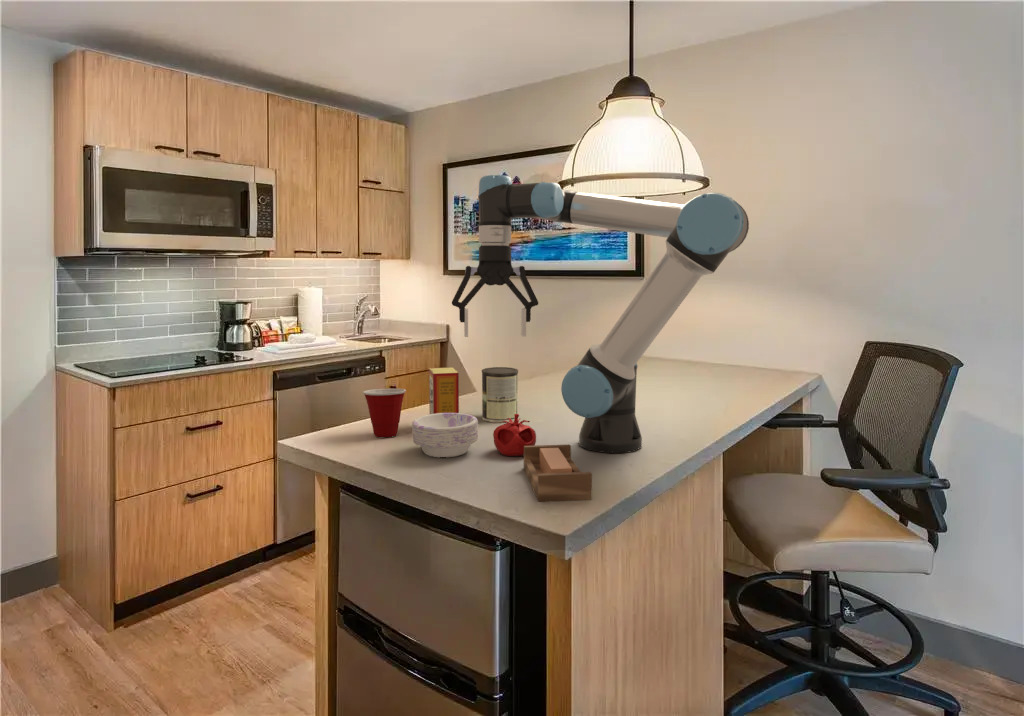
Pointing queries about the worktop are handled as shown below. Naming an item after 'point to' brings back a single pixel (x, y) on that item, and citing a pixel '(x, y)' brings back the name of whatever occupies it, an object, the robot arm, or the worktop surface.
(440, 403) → the baking soda box
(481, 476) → the worktop surface
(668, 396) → the worktop surface
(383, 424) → the plastic cup
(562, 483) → the wooden crate tray
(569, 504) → the worktop surface
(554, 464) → the orange rectangular block
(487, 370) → the coffee can
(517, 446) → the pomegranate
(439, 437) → the paper bowls
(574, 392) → the robot arm
